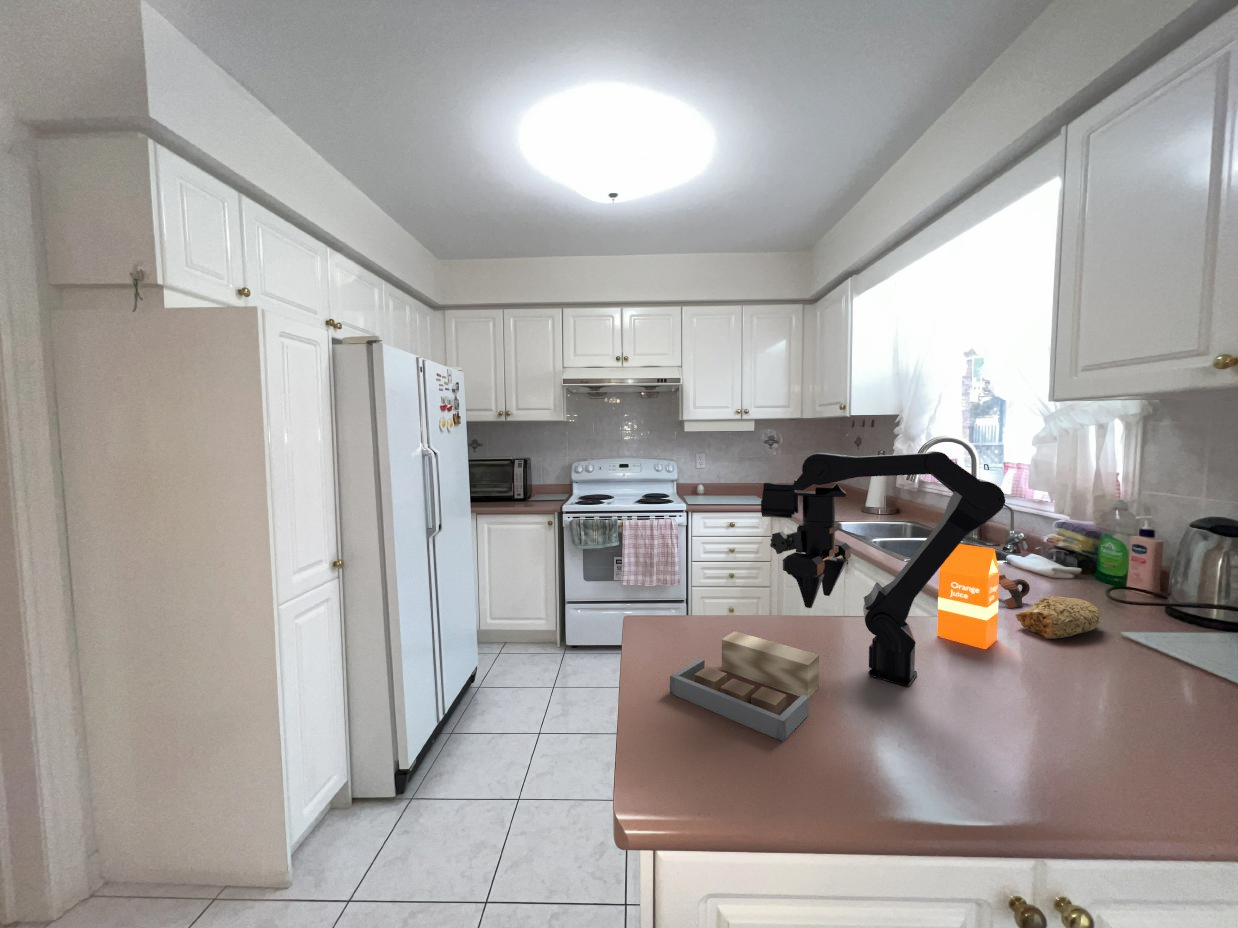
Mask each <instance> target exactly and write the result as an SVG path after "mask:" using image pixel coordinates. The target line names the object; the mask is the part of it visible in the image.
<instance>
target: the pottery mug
mask: <svg viewBox="0 0 1238 928" xmlns="http://www.w3.org/2000/svg"><path fill="white" fill-rule="evenodd" d="M999 585H1000V587H1001V588H1002V589H1004V590H1005V591H1008V593H1009V594H1010V595H1011V597H1009V598H1007V599H1004V603H1005V604H1006V607H1007V609H1013V608H1017V607H1023V606H1024V603H1023V598H1024V597H1026V596H1027V595H1028V594H1029V593H1030V589H1031V586H1030V584H1029V583H1028V581H1026V579H1022V578H1018V579H1012V580H1011V579H1009V578H1007V577H1006V574H999ZM1019 585H1021V590H1020V589H1019V588H1020V587H1019Z"/></svg>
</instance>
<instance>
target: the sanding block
mask: <svg viewBox="0 0 1238 928" xmlns="http://www.w3.org/2000/svg"><path fill="white" fill-rule="evenodd" d="M721 671H723V672H724V671H725V672H726V673H729V674H733V675H735V676H738V677H739V676H740V677H741V678H745V679H747V680H750V681H753V682H756V683H759V684H761V685H765V686H768V687H771V688H774V689H776V690H780V691H782V692H785V693H788V694H790V695H791V694H792V695H794V696H797V697H799V696H801V695H802V694H803V695H806V696H808V697H809V698H810V697H811V696H812V695H813V694H814V693H815V692H816V691H817V690H818V689H819V687H820V685H819V684H820V681H819V680H820V677H819V676H820V675H819V674H820V654H817V653H813V652H810V651H807V650H804V649H800V648H795V647H792V646H789V645H785V644H781V643H779V642H775V641H772V640H771V641H770V640H767V639H764V638H760V637H757V636H753V635H750V634H746V633H743V632H739V631H735V630H734V631H733V632H731V633H729V634H728V635H726V636H725V637H723V638H722V639H721Z"/></svg>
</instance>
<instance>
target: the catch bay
mask: <svg viewBox="0 0 1238 928" xmlns="http://www.w3.org/2000/svg"><path fill="white" fill-rule="evenodd" d="M705 665H706V663H705V659H703V658H698V659H695V661H693V662H691V663H690V664H687V665H686V666H685V667H683V668H681V669H679V670H678V671H676V672H674V673H672V674H671V675H669V694H671V695H673V696H676V697H678V698H681V699H683V700H685V701H687V702H690V703H692V704H694V705H697V706H699V707H702V708H704V709H706V710H708V711H711V712H714V713H715V714H718V715H720V716H722V717H725V718H726V719H729V720H732V721H733V722H736V723H740V724H741V725H743V726H746V727H748V728H751V729H752V730H755V731H757V732H759V733H762V734H764V735H766V734H767V736H768V737H772V738H773V737H774V738H773V739H776V740H778V739H779V741H780V740H781V741H780V742H785V740H786V739H788V737H790V735H791V734H792V733H793V732H794V731H795V730H796V729H797V728H798V727H799V726H800V725H801V724H802V723H803V722H804V721H805V720H806V719H807V718H808V717H809V716H808V715H809V710H810V708H809V707H810V706H809V705H810V703H809V702H810V697H808V696H806V695H803V694H802V695H801V696H800V697H799V696H798V698H796V700H795V701H794V702H793V703H791V705H790V706H788V707H786V710H785V711H784V712H783V713H782V714H781V715H780V716H779V715H777V714H774V713H772V712H769V711H767V710H764V709H762V708H759V707H757V706H754V705H752V704H749V703H746V702H744V701H741V700H739V699H736V698H734V697H731V696H729V695H726V694H724V693H721V692H719V691H716V690H714V689H711V688H708V687H706V686H703V685H701V684H698V683H696V682H694V674H696V673H697V672H699V671H700V670H702V669H704V668H705V667H706V666H705ZM807 716H808V717H807ZM806 717H807V718H806ZM805 718H806V719H805ZM804 719H805V720H804ZM803 720H804V721H803ZM802 721H803V722H802ZM801 722H802V723H801ZM800 723H801V724H800ZM797 726H798V727H797ZM795 728H796V729H795Z"/></svg>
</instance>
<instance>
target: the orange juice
mask: <svg viewBox="0 0 1238 928" xmlns="http://www.w3.org/2000/svg"><path fill="white" fill-rule="evenodd" d="M999 575H1000V571H999V565H998V561H997V555H996V549H995V548H993V547H991V548H990V547H982V546H977V545H968V544H962V543H960V544H959V545H958V546H957V547H956V548H955V550H954V551H953V552H952V553H951V555H950V556H949V557H948V558H947V559H946V561H945V562H944V563H943V564H942V565H941V567H940V568H939V569H938V597H937V637H938V636H940V637H939V638H942V639H946V640H949V641H953V642H957V643H961V644H964V645H969V646H970V647H971V646H972V647H974V648H975V647H976V648H980V649H982V650H986V649H988V648H989V647H990V646H992V645H993V644H994V643H995V642H996V641H997V640H998V617H999V616H998V615H999V614H998V613H999V587H1000V586H999V585H1000V584H999Z"/></svg>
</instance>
